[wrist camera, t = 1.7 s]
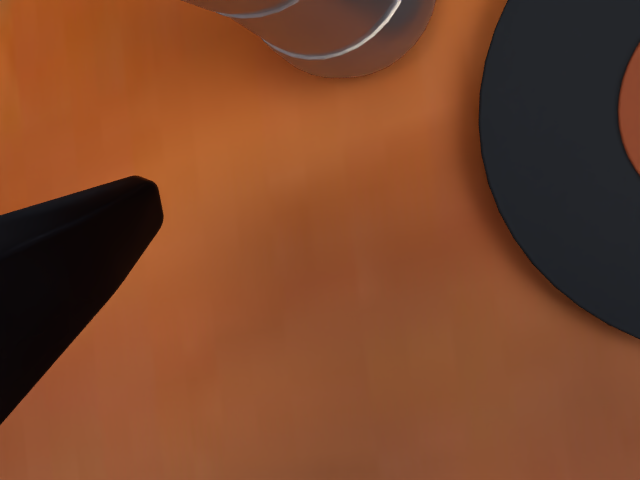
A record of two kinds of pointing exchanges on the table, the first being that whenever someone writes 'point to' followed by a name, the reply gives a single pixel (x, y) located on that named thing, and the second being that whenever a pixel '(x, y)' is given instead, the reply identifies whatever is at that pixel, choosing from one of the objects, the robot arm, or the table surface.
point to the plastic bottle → (331, 31)
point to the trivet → (569, 146)
